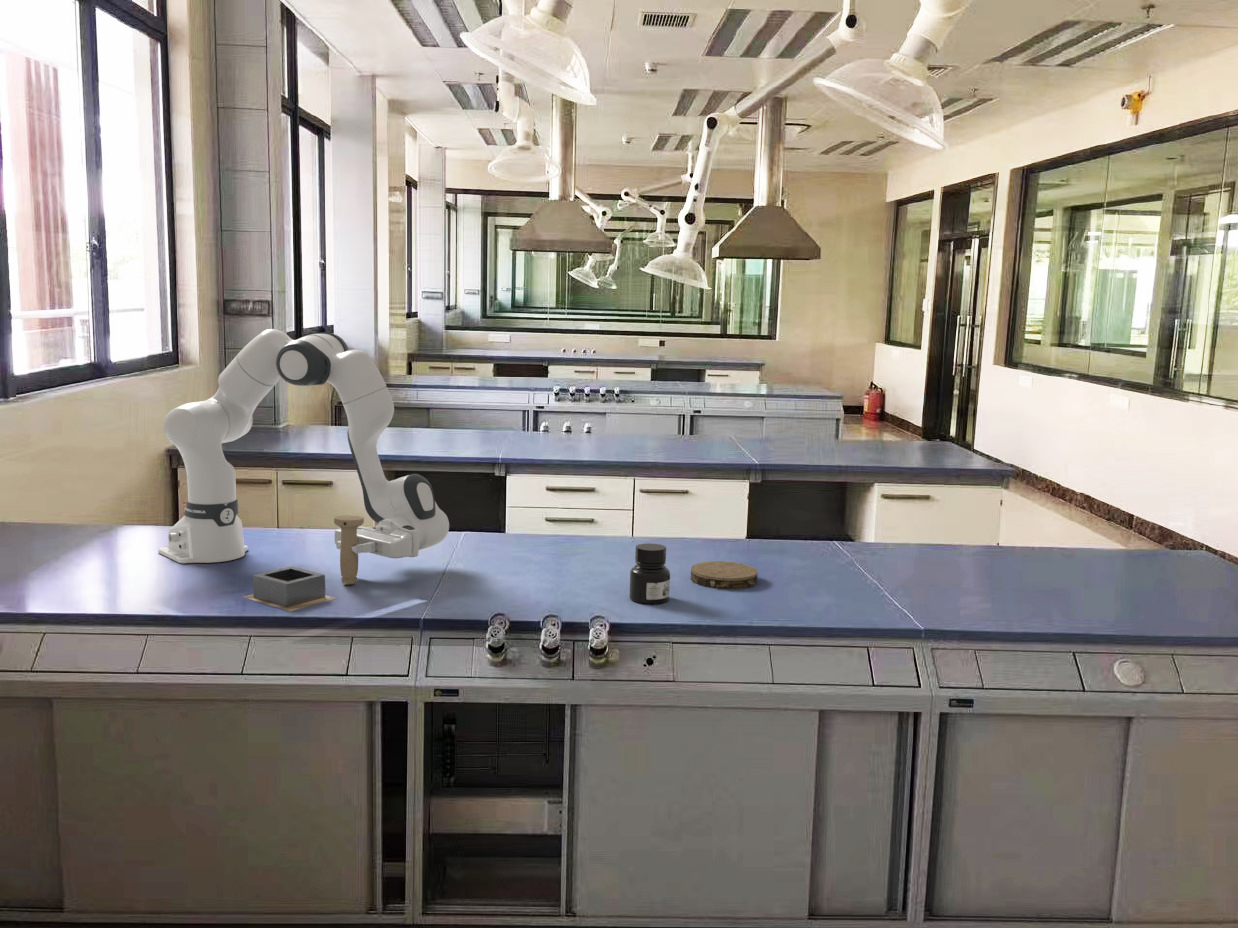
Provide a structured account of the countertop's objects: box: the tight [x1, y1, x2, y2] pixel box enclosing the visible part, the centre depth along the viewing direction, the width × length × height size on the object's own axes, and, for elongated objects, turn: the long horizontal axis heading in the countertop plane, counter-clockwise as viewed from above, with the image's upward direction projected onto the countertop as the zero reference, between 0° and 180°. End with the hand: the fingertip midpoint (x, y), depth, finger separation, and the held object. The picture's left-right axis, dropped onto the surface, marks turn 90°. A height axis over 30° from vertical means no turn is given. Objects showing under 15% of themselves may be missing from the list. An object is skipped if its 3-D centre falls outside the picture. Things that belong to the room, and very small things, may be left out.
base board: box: [243, 593, 338, 612], centre depth 224 cm, size 16×12×1 cm
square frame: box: [252, 565, 326, 608], centre depth 224 cm, size 11×10×5 cm
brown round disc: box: [690, 560, 758, 591], centre depth 251 cm, size 16×16×3 cm
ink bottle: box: [629, 542, 671, 605], centre depth 233 cm, size 10×9×12 cm
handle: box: [333, 514, 365, 585], centre depth 234 cm, size 5×6×15 cm
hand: (346, 547), depth 233 cm, fingers closed on handle, 3 cm apart
